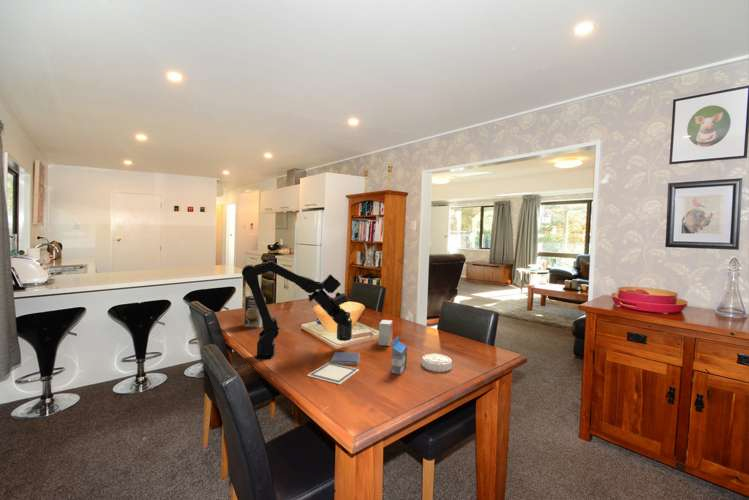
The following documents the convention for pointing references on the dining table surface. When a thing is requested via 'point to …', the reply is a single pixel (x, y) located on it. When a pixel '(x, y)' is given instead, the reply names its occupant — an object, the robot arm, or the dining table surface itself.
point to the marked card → (333, 373)
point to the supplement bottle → (344, 330)
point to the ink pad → (345, 358)
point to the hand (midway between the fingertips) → (347, 324)
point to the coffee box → (252, 313)
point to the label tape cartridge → (398, 356)
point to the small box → (385, 332)
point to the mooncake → (436, 362)
